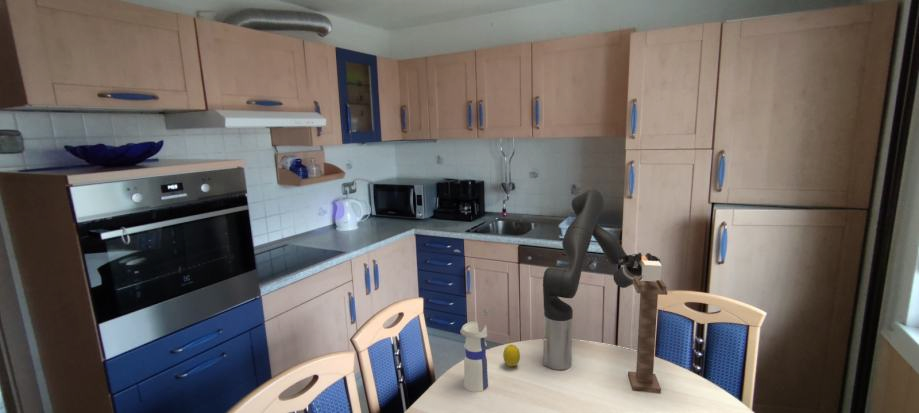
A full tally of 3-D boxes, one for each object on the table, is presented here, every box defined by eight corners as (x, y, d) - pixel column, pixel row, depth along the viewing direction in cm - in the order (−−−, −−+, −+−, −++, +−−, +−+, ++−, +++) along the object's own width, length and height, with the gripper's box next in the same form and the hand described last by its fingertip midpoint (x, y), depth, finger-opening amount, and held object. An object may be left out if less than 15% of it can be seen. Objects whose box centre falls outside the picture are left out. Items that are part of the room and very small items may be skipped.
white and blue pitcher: (471, 373, 139) (470, 301, 135) (494, 381, 134) (493, 307, 130) (457, 386, 133) (454, 311, 128) (480, 395, 128) (478, 317, 123)
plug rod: (644, 279, 122) (645, 265, 121) (634, 261, 138) (635, 248, 137) (660, 280, 121) (661, 265, 120) (649, 261, 137) (649, 248, 136)
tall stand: (632, 390, 128) (637, 285, 122) (628, 375, 136) (632, 275, 130) (660, 393, 126) (667, 286, 120) (654, 378, 134) (661, 277, 128)
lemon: (519, 362, 145) (519, 340, 144) (520, 371, 140) (520, 348, 138) (503, 361, 146) (503, 340, 144) (503, 370, 140) (503, 348, 139)
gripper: (614, 255, 151) (621, 243, 135) (655, 257, 148) (667, 245, 132) (614, 276, 149) (621, 266, 133) (657, 279, 146) (669, 268, 130)
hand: (644, 256), depth 133 cm, fingers closed on plug rod, 2 cm apart
